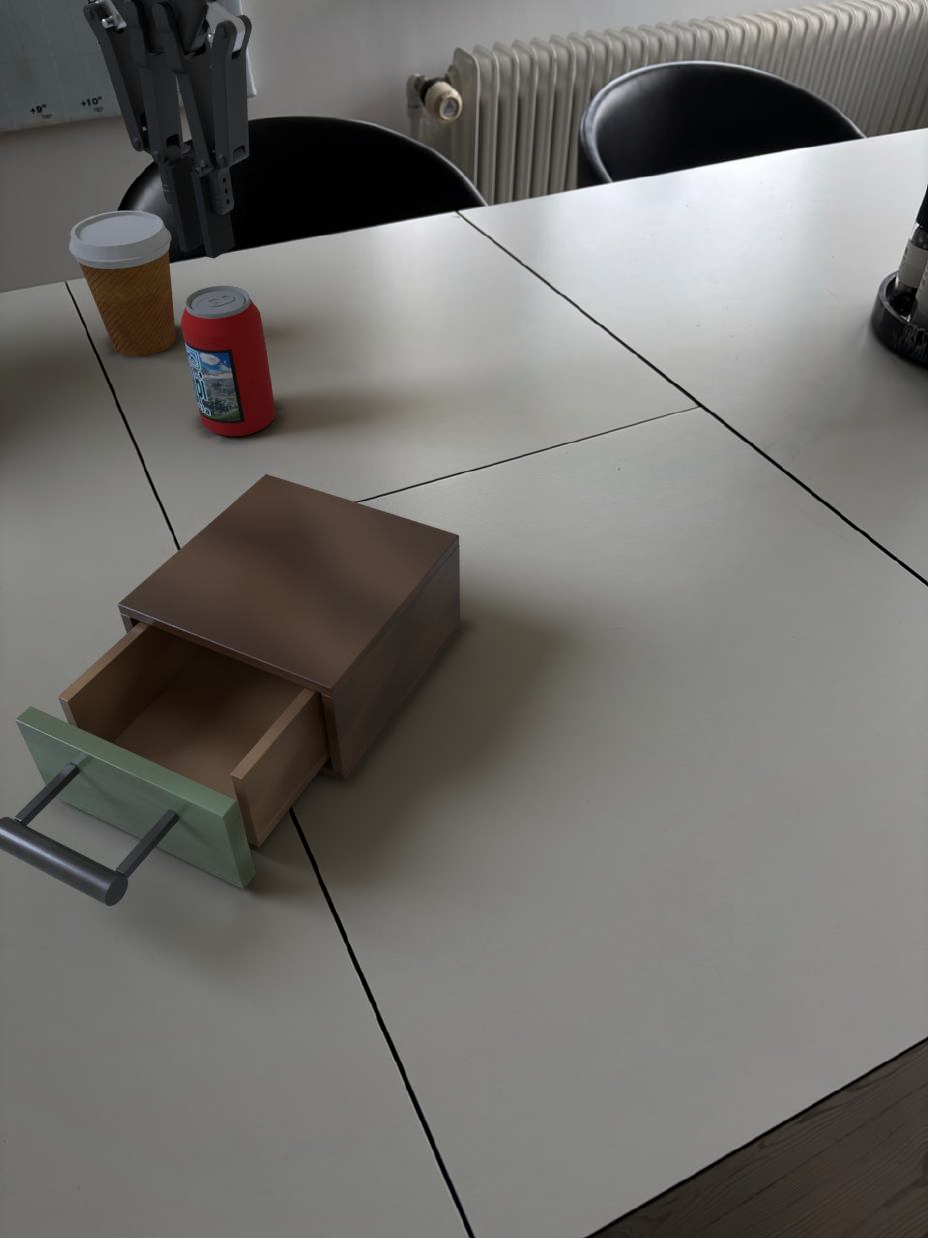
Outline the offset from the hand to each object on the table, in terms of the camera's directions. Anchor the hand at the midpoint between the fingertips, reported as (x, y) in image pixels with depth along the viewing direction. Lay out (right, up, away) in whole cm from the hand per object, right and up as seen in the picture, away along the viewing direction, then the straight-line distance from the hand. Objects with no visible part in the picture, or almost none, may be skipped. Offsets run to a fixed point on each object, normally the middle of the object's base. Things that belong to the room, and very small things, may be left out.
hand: (207, 247), depth 81 cm
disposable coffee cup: (-12, -2, +23) cm, 26 cm away
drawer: (+4, -40, -20) cm, 45 cm away
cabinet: (+10, -33, -11) cm, 36 cm away
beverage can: (0, -12, +12) cm, 17 cm away
